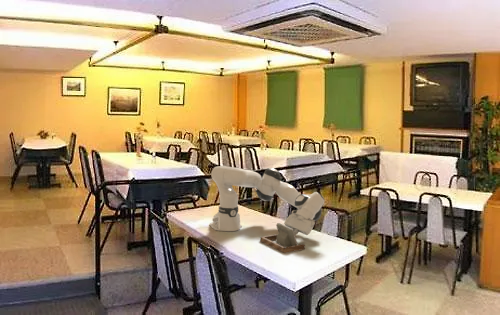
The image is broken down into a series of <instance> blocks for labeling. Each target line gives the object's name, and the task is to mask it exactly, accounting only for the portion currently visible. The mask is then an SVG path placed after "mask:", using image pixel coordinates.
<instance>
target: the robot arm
mask: <svg viewBox="0 0 500 315" xmlns="http://www.w3.org/2000/svg"><path fill="white" fill-rule="evenodd" d="M210 175H211V179H212V180H213V182H214V183H215V185H216V187H217V189H218V193H219V206H218V212H217V213H216V214H214V215H213V217H212V222H209V226H210V227H211V228H212V229H213V230H214V231H218V232H219V231H221V232H235V231H239V230H240V229H241V228H243V225H242V224H241V214H240V213H239V206H238V204H239V203H238V202H239V200H238V199H239V198H238V197H239V196H238V195H239V194H238V193H237V191H236V190H235V189H234V187H233V186H235V187H243V188H255V190H254V192H256V195H257V197H258V199H260V200H262V201H264V202H266V201H267V202H270V201H271V200H272V199H273V197H274V195H275V194H276V195H277V196H278V197H279V199H281V200H283V201H284V202H286V203H288V204H289V205H291V206H293V207H295V208H296V209H295V210H294V209H293V210H292V211H291V214H289V216H288V217H287V218H285V221H284V224H283V225H285V226H287V227H289V228H291V229H293V231H294V234H295V236H296V235H297V234H299V233H301V234H303V235H306V236H308V235H310V233H311V232H312V230H313V228H314V226H315V224H316V221H318V220H320V218H321V217H322V207H323V205H324V203H325V198H324V196H322V194H320V192H317V191H314V192H313V193H311V194H306V193H305V194H304V193H301V194H300V193H299V191H298V190H297V189H296V188H295V187H294V186H293V185H292V184H289V183H288V182H284V181H282V179H283V177H282V175H281V174H280V172H279V171H278V170H277V169H276V168H271V167H269V168H266V169H265V170H264V172H263V175H261V174H260V173H258V172H256V171H253V170H250V169H243V168H241V167H240V168H239V167H232V166H225V165H220V166H214V167H213V168H212V170H211V172H210Z"/></svg>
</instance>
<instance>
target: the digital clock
mask: <svg viewBox="0 0 500 315" xmlns="http://www.w3.org/2000/svg"><path fill="white" fill-rule="evenodd" d="M276 229H277V232H278V233H277V236H276V240H275V243H277V244H279V245H281V246H283V247H290V246H295V245H299V244H298V241H297V238H296V235H295V234H294V231H293V229H291V228H289V227H287V226H285V224H283V223H282V222H278V223H276Z"/></svg>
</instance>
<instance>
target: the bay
mask: <svg viewBox="0 0 500 315" xmlns="http://www.w3.org/2000/svg"><path fill="white" fill-rule="evenodd" d="M277 234H278V233H277ZM277 234H271V235H270V234H269V235H264V236H259V238H260V242H261V243H263V244H265V245H266V246H269V247H272V248H273V249H276V250H278V251H280V252H282V253H283V254H286V253H293V252H297V251H302V250H303V251H304V250H305V249H306V245H305V243H301V244H298V245H295V246H289V247H283V246H282V245H280V244H278V243H276V236H277ZM273 240H274V241H273Z"/></svg>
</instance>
